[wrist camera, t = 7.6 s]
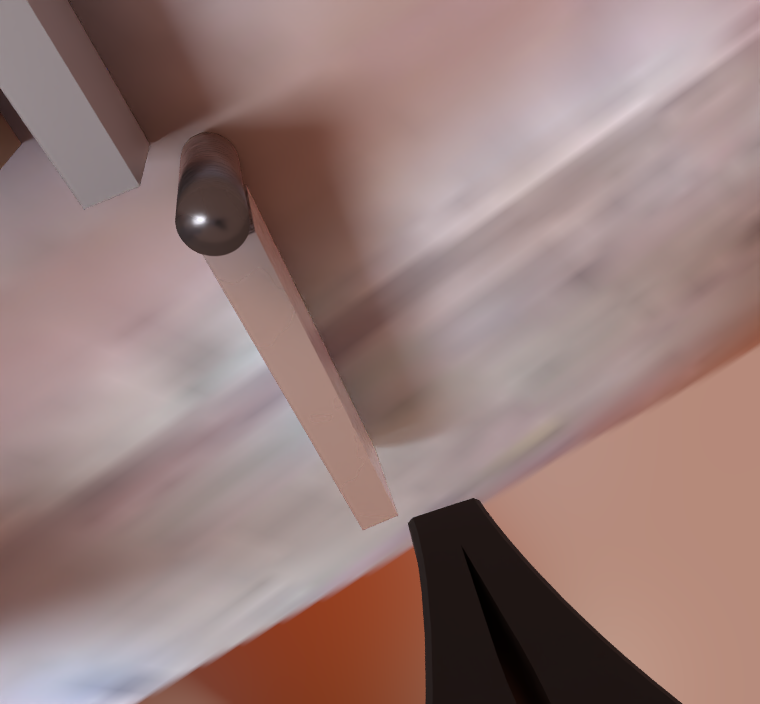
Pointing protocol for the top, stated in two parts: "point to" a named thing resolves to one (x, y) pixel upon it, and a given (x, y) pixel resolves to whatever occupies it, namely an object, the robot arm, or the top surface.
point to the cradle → (69, 100)
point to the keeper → (276, 318)
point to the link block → (7, 141)
